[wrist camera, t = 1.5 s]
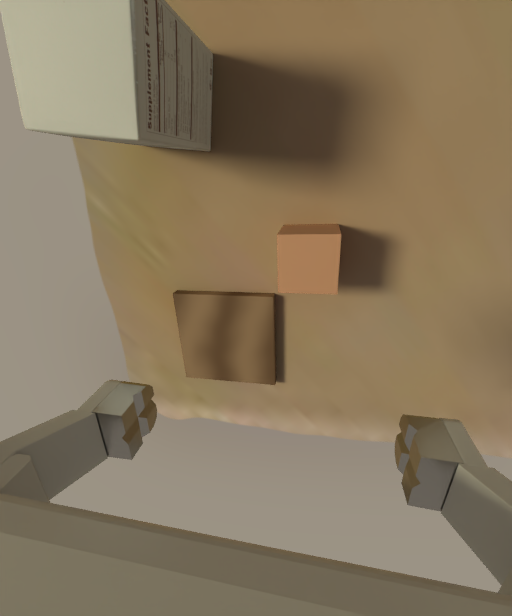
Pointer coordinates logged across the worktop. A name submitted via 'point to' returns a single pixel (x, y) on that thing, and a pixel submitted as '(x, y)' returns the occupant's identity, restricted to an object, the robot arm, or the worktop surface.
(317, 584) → the robot arm
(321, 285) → the terracotta cube
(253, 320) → the walnut board
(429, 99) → the worktop surface
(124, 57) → the supplement box
